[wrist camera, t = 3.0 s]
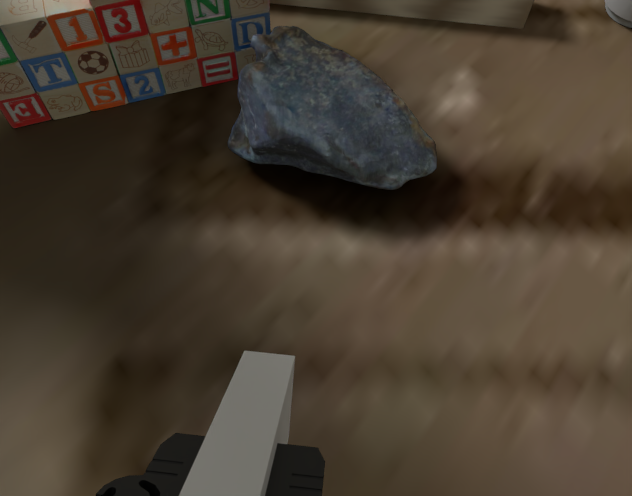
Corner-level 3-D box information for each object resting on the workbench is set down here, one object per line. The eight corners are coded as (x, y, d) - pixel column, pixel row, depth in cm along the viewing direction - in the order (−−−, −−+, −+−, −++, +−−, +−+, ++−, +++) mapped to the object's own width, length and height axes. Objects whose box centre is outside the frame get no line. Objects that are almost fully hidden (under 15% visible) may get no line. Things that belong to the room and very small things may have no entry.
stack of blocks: (12, 132, 45) (-82, -6, 34) (7, 77, 48) (-81, -66, 37) (275, 72, 48) (264, -71, 38) (255, 24, 51) (240, -122, 41)
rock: (256, 79, 48) (183, 143, 42) (292, 0, 41) (211, 63, 35) (402, 194, 48) (350, 273, 42) (460, 134, 42) (408, 218, 36)
